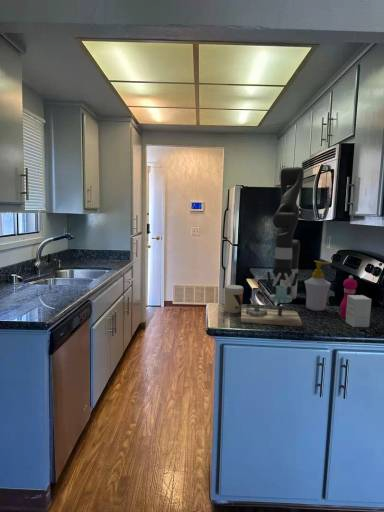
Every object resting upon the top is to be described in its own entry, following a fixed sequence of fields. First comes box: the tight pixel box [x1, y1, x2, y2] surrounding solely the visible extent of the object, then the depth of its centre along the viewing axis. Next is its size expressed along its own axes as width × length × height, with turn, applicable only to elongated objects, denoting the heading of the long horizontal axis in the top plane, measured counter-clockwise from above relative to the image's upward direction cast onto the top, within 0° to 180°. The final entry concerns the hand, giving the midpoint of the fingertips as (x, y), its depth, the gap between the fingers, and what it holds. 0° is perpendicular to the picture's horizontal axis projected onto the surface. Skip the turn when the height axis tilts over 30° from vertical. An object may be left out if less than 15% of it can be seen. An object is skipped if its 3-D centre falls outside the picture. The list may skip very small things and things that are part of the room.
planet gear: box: [269, 285, 293, 304], centre depth 158 cm, size 10×10×6 cm
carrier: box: [240, 302, 303, 327], centre depth 160 cm, size 16×26×6 cm, turn 81°
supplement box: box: [345, 294, 372, 328], centre depth 154 cm, size 7×7×13 cm
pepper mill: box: [339, 275, 358, 319], centre depth 164 cm, size 7×7×20 cm
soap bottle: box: [304, 260, 332, 312], centre depth 176 cm, size 13×13×25 cm
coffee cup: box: [223, 284, 244, 314], centre depth 171 cm, size 9×9×12 cm
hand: (281, 294), depth 158 cm, fingers closed on planet gear, 5 cm apart
